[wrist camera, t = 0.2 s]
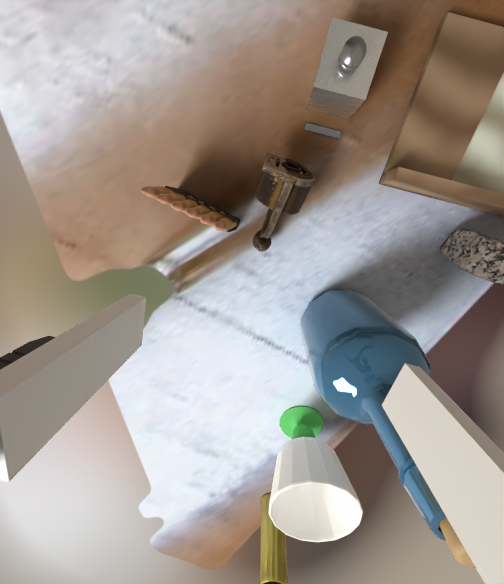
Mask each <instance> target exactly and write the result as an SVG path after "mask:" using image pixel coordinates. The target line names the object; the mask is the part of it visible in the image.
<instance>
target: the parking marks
mask: <svg viewBox="0 0 504 584" xmlns="http://www.w3.org/2000/svg"><path fill="white" fill-rule="evenodd" d="M304 130H307V131H310V132H314V133H318V134H322V135H326V136H329V137H333V138H337V139H339V138H340V135H341V132H340V131H336V130H333V129H329V128H325V127H321V126H317V125H313V124H310V123H306V125H305V128H304Z"/></svg>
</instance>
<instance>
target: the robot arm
mask: <svg viewBox="0 0 504 584" xmlns="http://www.w3.org/2000/svg"><path fill="white" fill-rule="evenodd" d="M145 303H146V297H142V296H138V295H134V294H129V295H128V296H126V297H124V298H122V299H121V300H119V301H117V302H116V303H114V304H112V305H111V306H109V307H107V308H105V309H104V310H102V311H100V312H99V313H97V314H95V315H93V316H92V317H90V318H88V319H86V320H85V321H83V322H81V323H80V324H78V325H76V326H74V327H73V328H71V329H69V330H68V331H66V332H64V333H63V334H61V335H59V336H57V337H52V336H47V337H43V338H40V339H37V340H34V341H31V342H28V343H27V344H25V345H23V346H21V347H19V348H17V349H15V350H13V352H12V353H8V354H6V355H4V356H3V357H0V480H3V481H8V482H9V481H10V480H11V479H12V478H13V477H14V476H15V475H16V474H17V473H18V472H19V471H20V470H21V469H22V468H23V467H24V466H25V465H26V464H27V463H28V462H29V461H30V460H31V459H32V458H33V457H34V455H35V454H36V453H37V452H38V451H39V450H40V449H41V448H42V447H43V446H44V445H45V444H46V443H47V442H48V441H49V440H50V439H51V438H52V437H53V436H54V435H55V434H56V433H57V432H58V431H59V430H60V429H61V428H62V426H64V424H65V423H66V422H67V421H68V420H69V419H70V418H71V417H72V416H73V415H74V414H75V413H76V412H77V411H78V410H79V409H80V408H81V407H82V406H83V405H84V404H85V403H86V402H87V401H88V400H89V399H90V398H91V396H92V395H94V393H95V392H96V391H97V390H98V389H99V388H100V387H101V386H102V385H103V384H104V383H105V382H106V381H107V380H108V379H109V378H110V377H111V376H112V375H113V374H114V373H115V372H116V371H117V370H118V369H119V368H120V367H121V366H122V365H123V364H124V363H125V361H126V360H127V359H128V358H129V357H130V356H131V355H132V354H133V353H134V352H135V351H136V350H137V349H138V348H139V347H140V346H141V345H142V335H143V323H144V314H145ZM382 407H383V409H384V410H385V412H386V414H387V415H388V417H389V419H390V421H391V422H392V424H393V426H394V428H395V429H396V431H397V433H398V434H399V436H400V438H401V440H402V441H403V443H404V445H405V446H406V448H407V450H408V452H409V453H410V455H411V457H412V459H413V460H414V462H415V464H416V465H417V467H418V469H419V471H420V472H421V474H422V476H423V477H424V479H425V481H426V483H427V484H428V486H429V488H430V490H431V491H432V493H433V495H434V496H435V498H436V500H437V502H438V503H439V505H440V507H441V509H442V510H443V512H444V514H445V515H446V517H447V519H448V521H449V522H450V524H451V526H452V527H453V529H454V531H455V533H456V534H457V536H458V538H459V540H460V541H461V543H462V545H463V546H464V548H465V550H466V552H467V553H468V555H469V557H470V558H471V560H472V562H473V564H474V565H475V567H476V569H477V570H478V572H479V574H480V575H481V577H482V579H483V581H484V582H485V584H504V453H503V452H502V451H501V450H500V449H499V448H498V447H497V446H496V445H495V444H494V443H493V442H492V441H491V439H490V438H489V437H487V436H486V434H484V432H483V431H482V430H481V429H480V428H479V427H478V426H477V425H476V424H475V423H474V422H473V421H472V420H471V419H470V418H469V417H468V416H467V415H466V414H465V413H464V412H463V411H462V410H461V409H460V408H459V407H458V406H457V405H456V404H455V402H453V400H452V399H451V398H450V397H449V396H448V395H447V394H446V393H445V392H444V391H442V389H441V388H440V387H439V386H438V385H437V384H436V383H435V382H434V381H433V380H432V379H431V378H430V377H429V376H428V375H427V374H426V373H425V372H424V371H423V370H422V369H421V368H420V367H418V366H414V365H411V364H407V363H405V364H404V366H403V367H402V369H401V371H400V373H399V375H398V377H397V378H396V380H395V382H394V384H393V386H392V387H391V389H390V391H389V393H388V395H387V396H386V398H385V400H384V402H383V404H382Z"/></svg>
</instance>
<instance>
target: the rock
mask: <svg viewBox="0 0 504 584" xmlns="http://www.w3.org/2000/svg"><path fill="white" fill-rule="evenodd" d="M441 253H443V254H444V255H445V256H446V257H447V258H448V259H449V260H451V261H452V262H453V263H454V264H456V265H457V266H458V267H459V268H461V269H464V270H466V271H468V272H469V273H471V274H472V275H475V276H478V277H480V278H483V279H486V280H488V281H491V282H497V283H500V284H503V285H504V243H503V242H501V241H500V240H497V239H493V238H490V237H487V236H484V235H482V234H480V233H478V232H476V231H473V230H470V229H459V230H456V231H455V232H453V233H452V234H451V235H450V237H449V238H448V240H447V241H446V242H445V243H444V244H443V246H442V247H441Z"/></svg>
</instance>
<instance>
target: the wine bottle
mask: <svg viewBox="0 0 504 584" xmlns="http://www.w3.org/2000/svg"><path fill="white" fill-rule="evenodd" d="M301 333H302V340H303V344H304V347H305V351H306V355H307V359H308V363H309V367H310V371H311V374H312V378H313V382H314V386H315V389H316V391H317V392H318V393H319V394H320V396H321V397H322V398H323V400H324V401H325V402H326V403H327V405H328V406H329V407H330V408H331V409H332V410H333V411H334V412H335V413H336V414H338V415H340V416H343V417H345V418H347V419H350V420H352V421H355V422H357V423H360V424H373V425H374V426H375V428H376V430H377V432H378V434H379V436H380V438H381V439H382V441H383V443H384V445H385V447H386V449H387V450H388V452H389V454H390V456H391V458H392V460H393V462H394V463H395V465H396V467H397V469H398V471H399V481H400V482H401V483H402V485H403V486H404V487H405V489H406V490H407V492H408V493H409V495H410V496H411V498H412V500H413V502H414V503H415V505H416V507H417V508H418V510H419V511H420V513H421V515H422V516H423V518H424V520H425V521H426V523H427V525H428V526H429V528H430V529H431V531H432V532H433V533H434V534H435V536H436V537H438V538H440V539H443V540H446V541H447V543H448V545H449V547H450V549H451V551H452V553H453V555H454V556H455V557H456V559H457V560H458V561H459V563H461V564H465V565H468V566H471V567H474V568H476V567H475V565H474V564H473V562H472V560H471V558H470V557H469V555H468V553H467V552H466V550H465V548H464V546H463V545H462V543H461V541H460V540H459V538H458V536H457V534H456V533H455V531H454V529H453V527H452V526H451V524H450V522H449V521H448V519H447V517H446V515H445V514H444V512H443V510H442V509H441V507H440V505H439V503H438V502H437V500H436V498H435V496H434V495H433V493H432V491H431V490H430V488H429V486H428V484H427V483H426V481H425V479H424V477H423V476H422V474H421V472H420V471H419V469H418V467H417V465H416V464H415V462H414V460H413V459H412V457H411V455H410V453H409V452H408V450H407V448H406V446H405V445H404V443H403V441H402V440H401V438H400V436H399V434H398V433H397V431H396V429H395V428H394V426H393V424H392V422H391V421H390V419H389V417H388V415H387V414H386V412H385V410H384V409H383V407H382V404H383V402H384V400H385V398H386V396H387V395H388V393H389V391H390V389H391V387H392V386H393V384H394V382H395V380H396V378H397V377H398V375H399V373H400V371H401V369H402V367H403V366H404V364H405V363H407V364H411V365H414V366H418V367H420V368H421V369H422V370H423V371H424V372H425V373H426V374H427V375H428V376H429V377H430V371H431V366H430V362H429V360H428V358H427V356H426V355H425V353H424V352H423V350H422V348H421V347H420V345H419V343H418V342H417V340H416V338H415V337H414V336H413V335H411V334H410V333H409V332H408V331H407V330H406V329H404V328H403V327H402V326H401V325H400V324H399V323H397V322H396V321H395V320H394V319H393V318H392V317H391V316H389V315H388V314H387V313H386V312H385V311H384V310H382V309H381V308H380V307H379V306H378V305H377V304H375V303H374V302H373V301H372V300H371V299H370V298H368V297H366V296H364V295H362V294H359V293H357V292H355V291H353V290H350V289H346V290H335V291H327V292H326V293H324V294H323V295H321V296H319V297H318V298H316V299H315V300H313V301H311V302H310V303H309V305H308V307H307V309H306V311H305V312H304V314H303V316H302V318H301Z"/></svg>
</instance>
